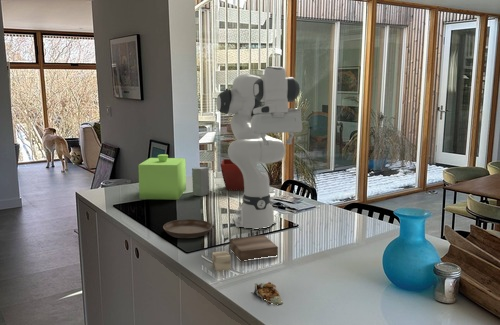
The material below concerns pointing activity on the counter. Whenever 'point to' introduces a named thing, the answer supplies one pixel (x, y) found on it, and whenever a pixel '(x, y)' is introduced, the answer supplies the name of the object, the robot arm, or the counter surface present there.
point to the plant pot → (232, 175)
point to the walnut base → (253, 247)
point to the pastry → (268, 293)
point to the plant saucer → (187, 228)
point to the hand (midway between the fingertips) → (277, 144)
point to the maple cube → (221, 261)
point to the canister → (162, 178)
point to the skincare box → (200, 181)
